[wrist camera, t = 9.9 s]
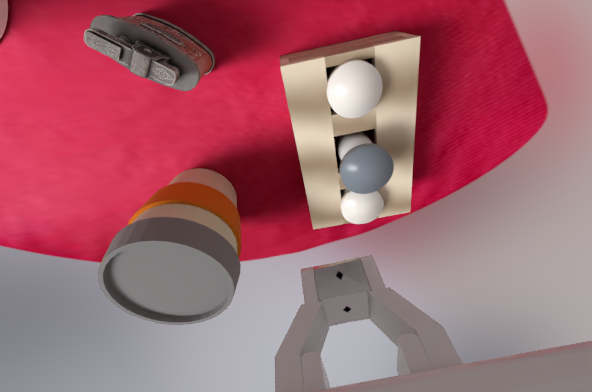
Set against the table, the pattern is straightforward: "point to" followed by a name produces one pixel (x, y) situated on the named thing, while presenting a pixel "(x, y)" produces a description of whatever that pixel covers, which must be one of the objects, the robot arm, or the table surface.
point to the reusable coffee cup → (177, 252)
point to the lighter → (152, 49)
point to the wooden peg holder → (353, 119)
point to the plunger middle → (363, 163)
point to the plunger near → (353, 88)
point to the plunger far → (360, 206)
